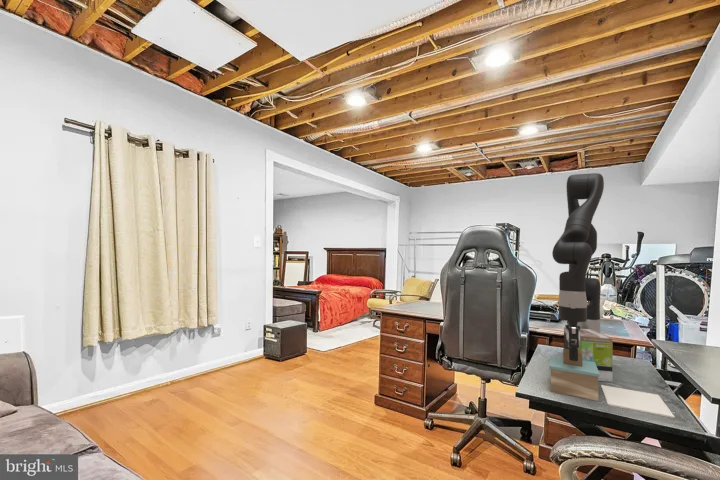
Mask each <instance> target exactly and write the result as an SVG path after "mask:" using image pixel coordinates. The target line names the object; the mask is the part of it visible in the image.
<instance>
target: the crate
mask: <svg viewBox="0 0 720 480" xmlns="http://www.w3.org/2000/svg"><path fill="white" fill-rule="evenodd" d="M550 392H552V393H556V394H560V395H561V394H562V395H567V396H571V397H572V396H573V397H576V398H582V399H587V400H591V401H599V381H598V376H592V375H586V374H580V373H573V372H567V371H561V370H555V369H550Z"/></svg>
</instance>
